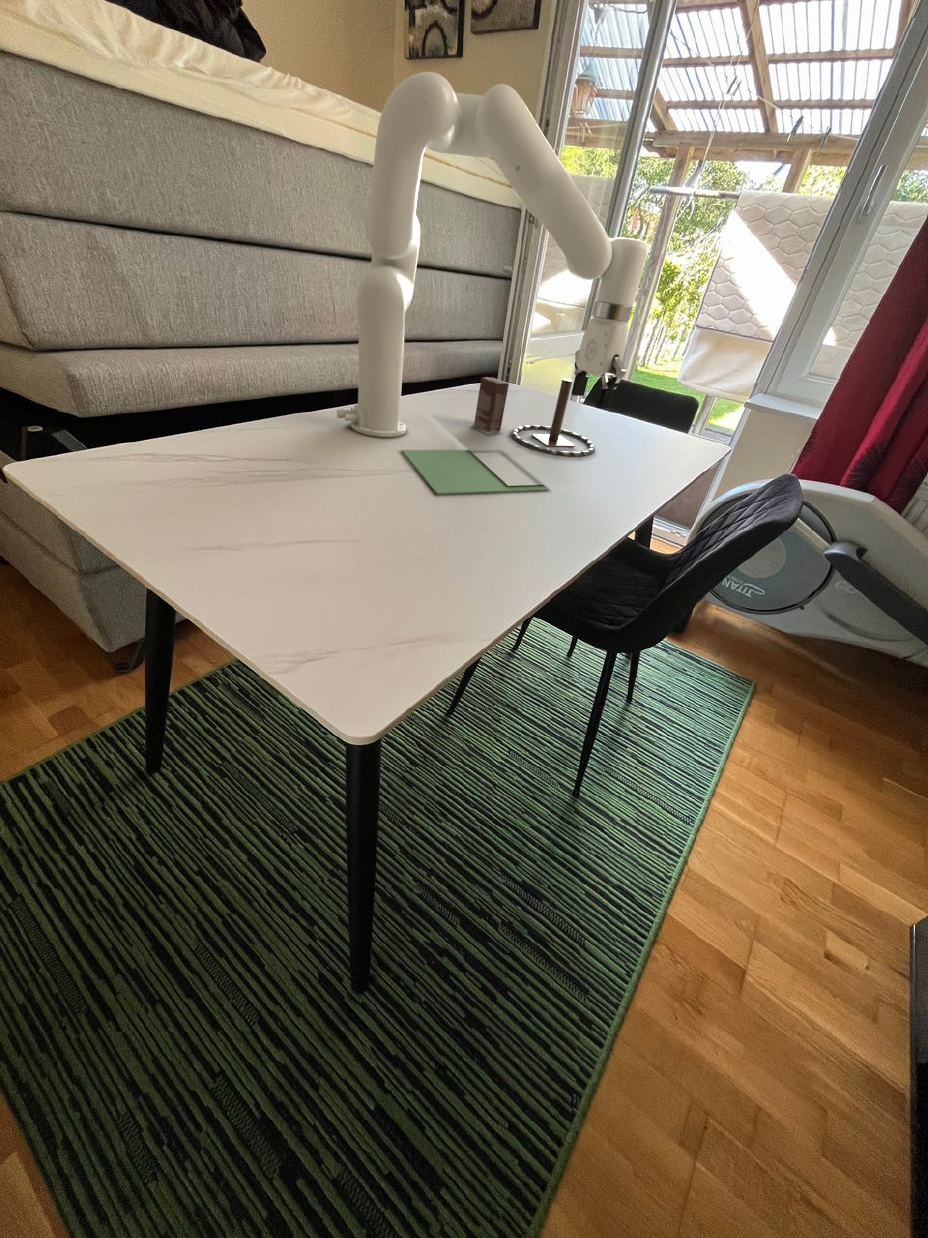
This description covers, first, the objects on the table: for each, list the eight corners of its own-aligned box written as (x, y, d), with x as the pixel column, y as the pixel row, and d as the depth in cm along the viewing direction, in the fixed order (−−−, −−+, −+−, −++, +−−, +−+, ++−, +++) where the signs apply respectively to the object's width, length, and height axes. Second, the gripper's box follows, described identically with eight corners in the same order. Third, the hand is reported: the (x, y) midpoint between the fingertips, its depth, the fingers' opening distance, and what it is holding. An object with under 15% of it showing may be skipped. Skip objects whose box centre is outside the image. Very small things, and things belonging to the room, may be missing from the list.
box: (500, 433, 131) (509, 383, 124) (487, 435, 128) (496, 383, 121) (485, 426, 134) (493, 376, 127) (472, 427, 132) (479, 376, 125)
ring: (536, 460, 118) (537, 453, 117) (496, 429, 133) (497, 423, 132) (610, 459, 126) (612, 453, 125) (565, 431, 141) (566, 425, 140)
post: (546, 450, 125) (562, 383, 116) (530, 438, 131) (544, 374, 122) (573, 450, 128) (590, 385, 119) (557, 439, 134) (572, 376, 125)
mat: (437, 495, 95) (437, 493, 94) (401, 451, 110) (401, 450, 110) (548, 490, 104) (548, 489, 104) (500, 451, 120) (501, 449, 119)
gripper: (573, 305, 110) (555, 390, 120) (622, 318, 97) (597, 412, 107) (602, 308, 113) (582, 391, 123) (653, 322, 100) (626, 413, 110)
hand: (589, 401), depth 115 cm, fingers open, 9 cm apart
